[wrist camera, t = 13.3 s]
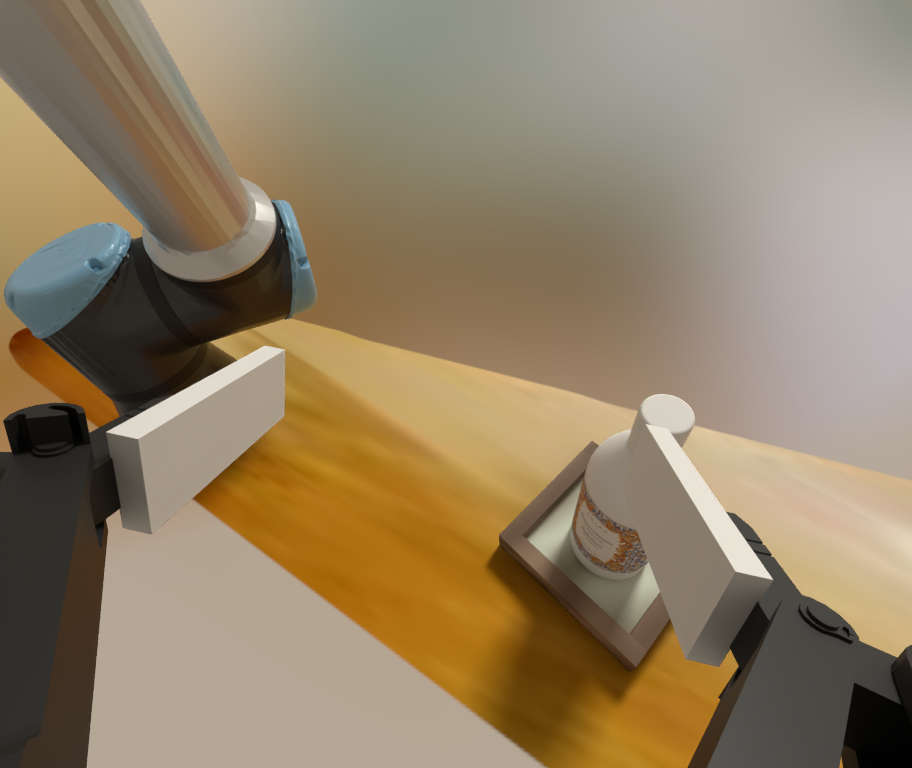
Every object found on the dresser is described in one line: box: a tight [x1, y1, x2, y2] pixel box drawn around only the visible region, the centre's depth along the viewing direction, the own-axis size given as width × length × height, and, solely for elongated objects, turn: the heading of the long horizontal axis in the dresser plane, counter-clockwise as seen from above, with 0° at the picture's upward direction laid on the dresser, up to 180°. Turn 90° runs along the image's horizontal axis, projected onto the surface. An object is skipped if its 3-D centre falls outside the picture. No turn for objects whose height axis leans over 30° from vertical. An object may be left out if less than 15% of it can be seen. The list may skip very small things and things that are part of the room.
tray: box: [499, 441, 670, 671], centre depth 39 cm, size 14×14×2 cm
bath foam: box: [570, 394, 695, 580], centre depth 32 cm, size 7×7×20 cm
